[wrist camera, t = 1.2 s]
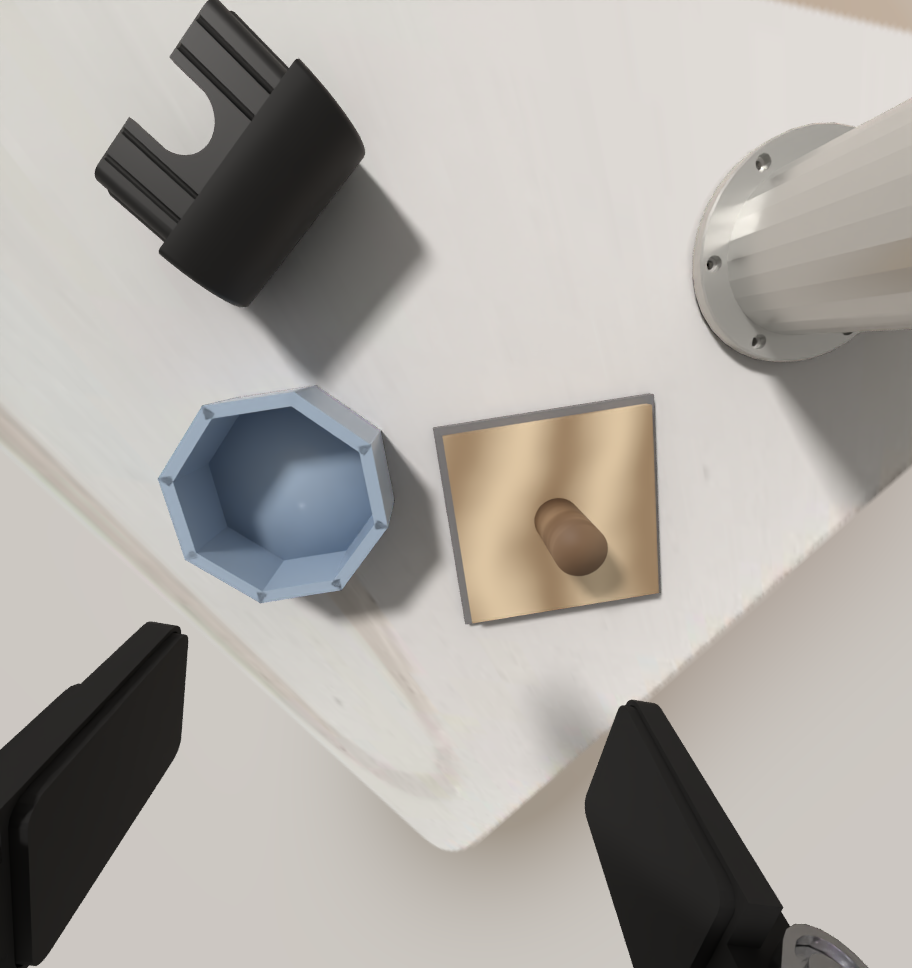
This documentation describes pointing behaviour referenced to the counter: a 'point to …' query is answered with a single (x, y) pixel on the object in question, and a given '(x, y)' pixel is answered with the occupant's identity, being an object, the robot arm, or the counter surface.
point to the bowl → (279, 492)
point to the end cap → (236, 161)
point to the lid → (556, 511)
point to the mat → (517, 420)
